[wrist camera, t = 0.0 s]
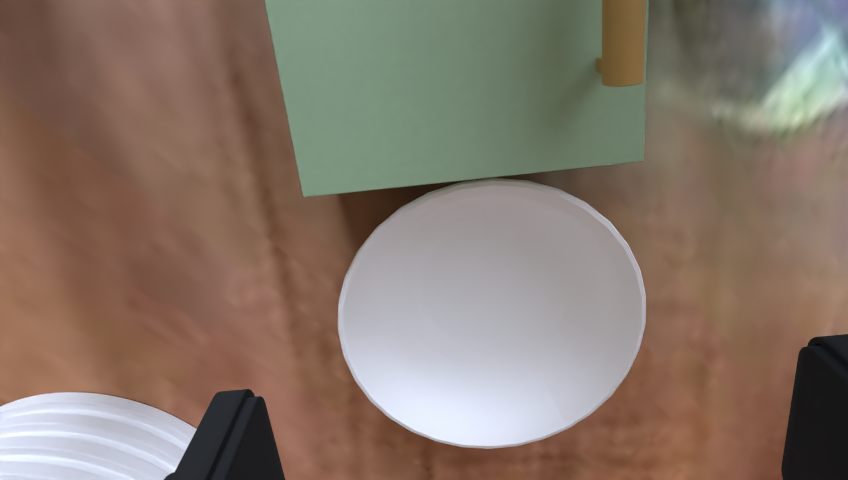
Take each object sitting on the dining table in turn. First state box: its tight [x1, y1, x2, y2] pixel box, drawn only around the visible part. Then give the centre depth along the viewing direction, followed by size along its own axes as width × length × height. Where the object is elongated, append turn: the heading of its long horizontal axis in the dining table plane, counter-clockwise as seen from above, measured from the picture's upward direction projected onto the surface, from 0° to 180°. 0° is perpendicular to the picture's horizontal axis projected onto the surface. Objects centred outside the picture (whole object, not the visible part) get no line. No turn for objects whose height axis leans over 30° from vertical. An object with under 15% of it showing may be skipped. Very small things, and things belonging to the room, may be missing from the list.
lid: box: [264, 0, 649, 197], centre depth 28 cm, size 18×16×5 cm
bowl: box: [338, 178, 646, 449], centre depth 41 cm, size 20×20×6 cm
